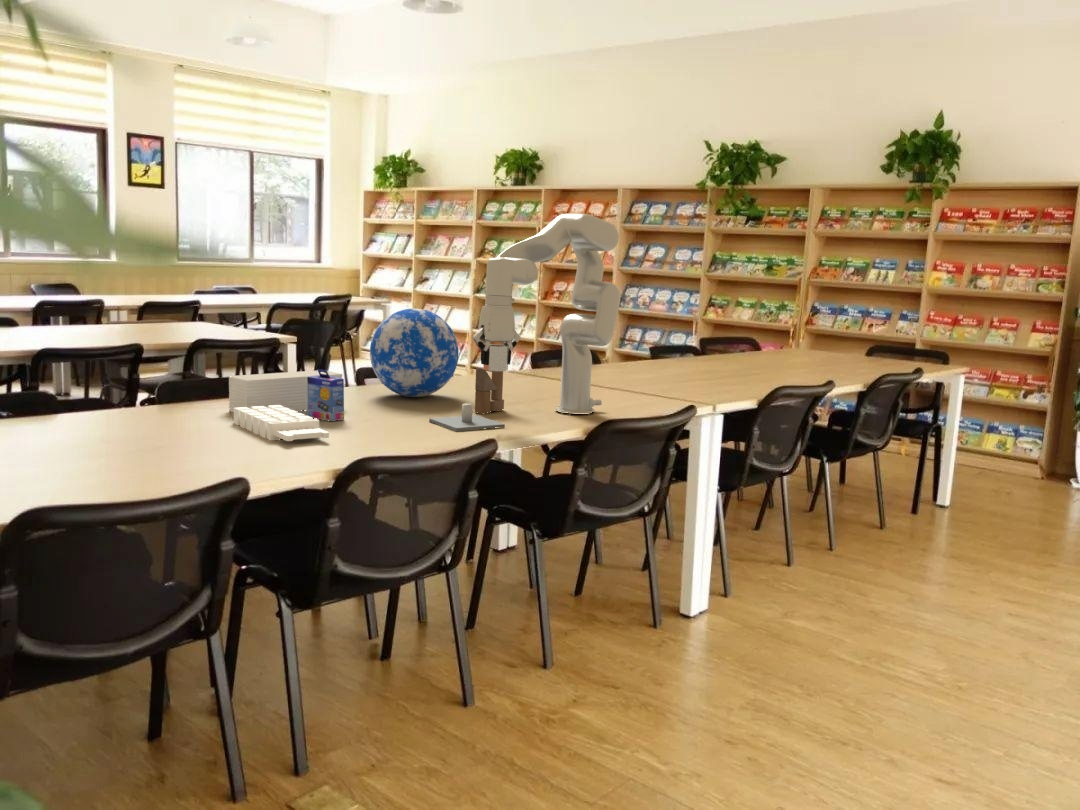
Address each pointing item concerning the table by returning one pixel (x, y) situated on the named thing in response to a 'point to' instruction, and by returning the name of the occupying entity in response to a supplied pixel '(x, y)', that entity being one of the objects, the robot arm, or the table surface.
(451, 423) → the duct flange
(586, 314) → the robot arm
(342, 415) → the ink cartridge box
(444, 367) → the decorative globe
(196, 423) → the table surface
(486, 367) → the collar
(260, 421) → the organizer
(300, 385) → the stack of papers
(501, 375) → the wooden block
